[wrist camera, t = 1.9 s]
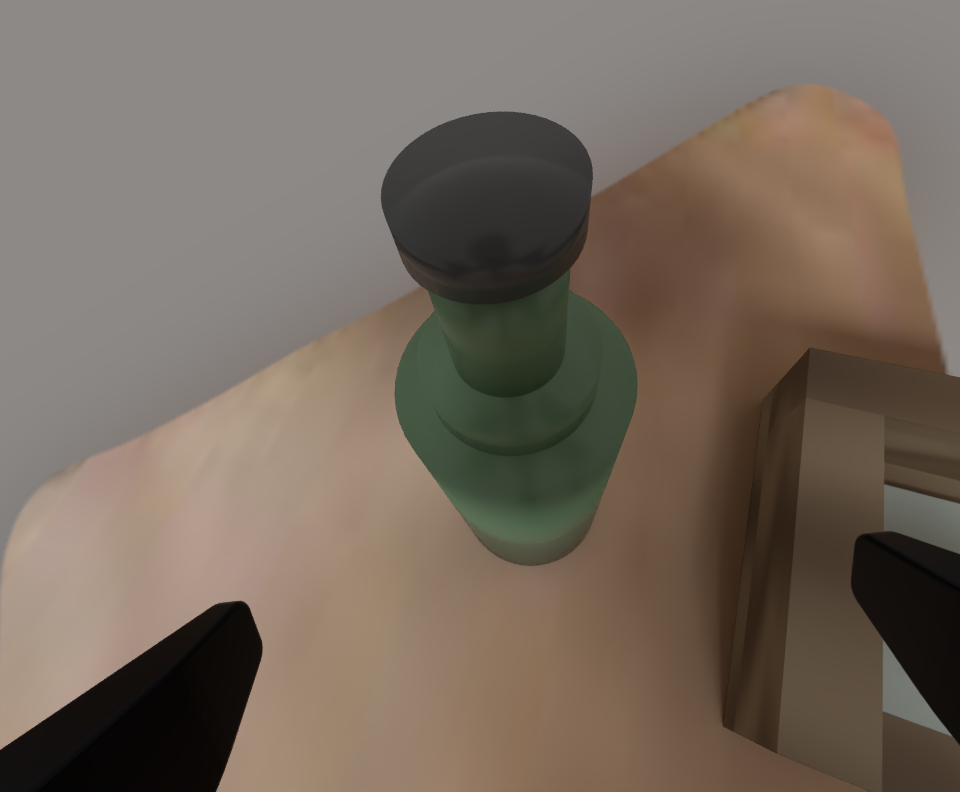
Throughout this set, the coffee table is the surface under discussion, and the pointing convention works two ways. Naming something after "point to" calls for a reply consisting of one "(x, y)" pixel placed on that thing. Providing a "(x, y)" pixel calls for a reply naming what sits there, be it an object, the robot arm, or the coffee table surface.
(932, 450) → the square wooden tray
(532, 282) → the bottle
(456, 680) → the coffee table surface
